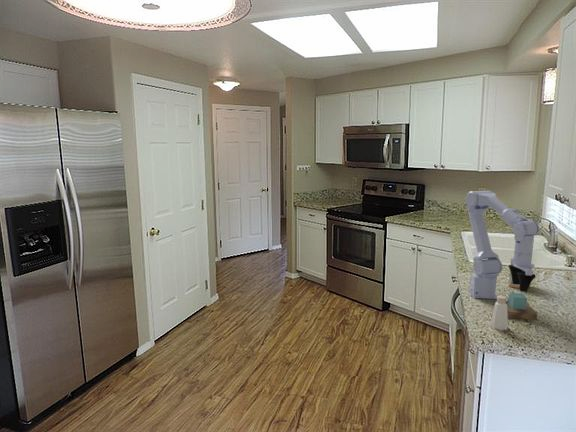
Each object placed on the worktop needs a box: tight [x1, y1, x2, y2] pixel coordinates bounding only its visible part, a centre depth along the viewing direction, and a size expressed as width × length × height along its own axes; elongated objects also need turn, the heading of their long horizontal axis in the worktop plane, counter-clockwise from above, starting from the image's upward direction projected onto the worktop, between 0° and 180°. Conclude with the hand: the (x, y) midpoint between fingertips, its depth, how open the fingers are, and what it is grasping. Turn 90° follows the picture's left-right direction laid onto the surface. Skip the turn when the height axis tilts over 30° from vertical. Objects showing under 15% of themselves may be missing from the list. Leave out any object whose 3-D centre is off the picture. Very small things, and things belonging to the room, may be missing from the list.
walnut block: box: [505, 300, 538, 321], centre depth 150 cm, size 10×10×2 cm
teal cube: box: [508, 292, 528, 310], centre depth 149 cm, size 4×4×4 cm
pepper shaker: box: [490, 295, 509, 331], centre depth 138 cm, size 5×5×11 cm
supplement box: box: [508, 255, 520, 290], centre depth 178 cm, size 8×5×13 cm, turn 140°
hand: (519, 287), depth 150 cm, fingers open, 7 cm apart
